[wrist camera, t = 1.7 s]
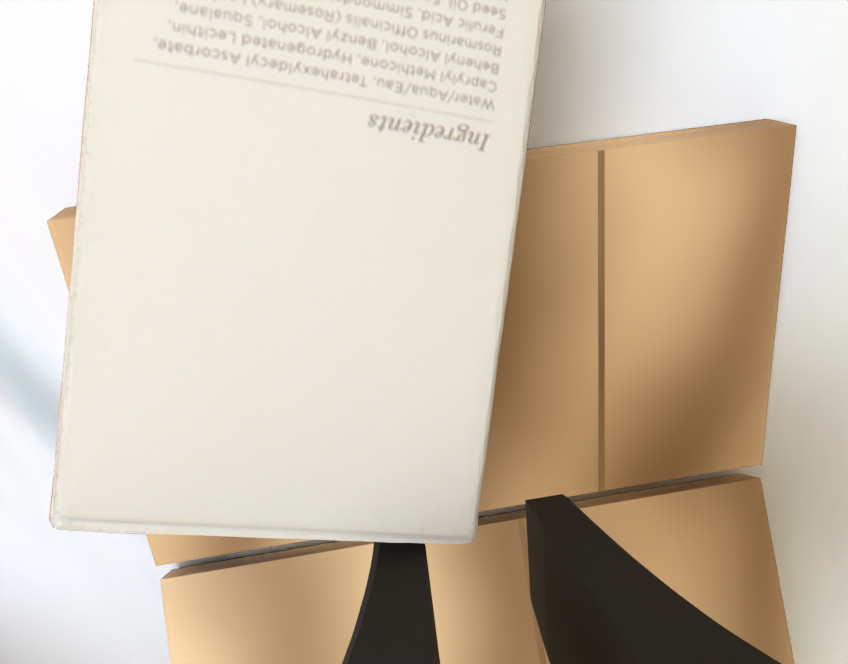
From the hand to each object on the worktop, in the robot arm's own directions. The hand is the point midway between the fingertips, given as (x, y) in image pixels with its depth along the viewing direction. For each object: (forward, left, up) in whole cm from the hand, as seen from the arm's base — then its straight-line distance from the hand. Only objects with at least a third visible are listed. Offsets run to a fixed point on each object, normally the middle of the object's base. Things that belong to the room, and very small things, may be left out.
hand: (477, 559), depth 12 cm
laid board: (+1, 0, -9) cm, 9 cm away
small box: (0, +11, -6) cm, 12 cm away
